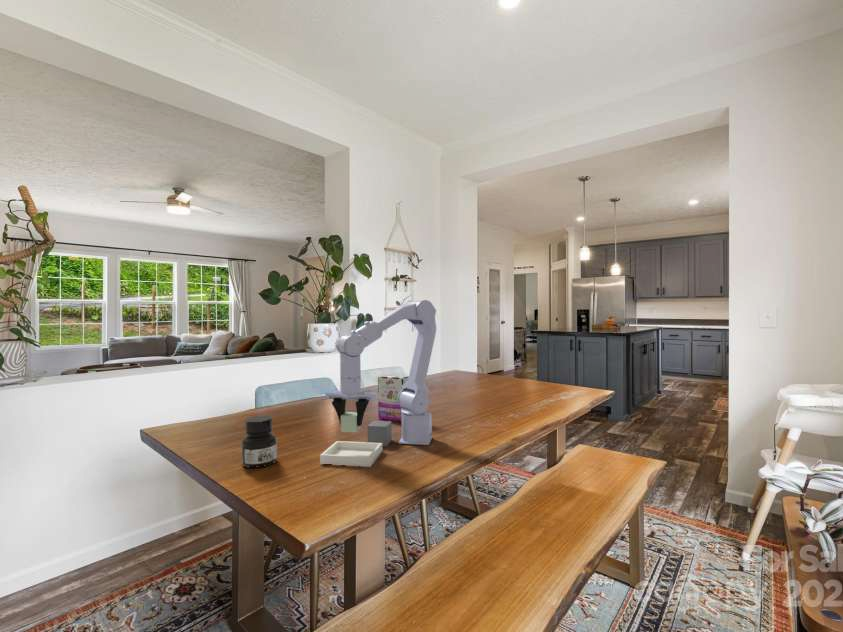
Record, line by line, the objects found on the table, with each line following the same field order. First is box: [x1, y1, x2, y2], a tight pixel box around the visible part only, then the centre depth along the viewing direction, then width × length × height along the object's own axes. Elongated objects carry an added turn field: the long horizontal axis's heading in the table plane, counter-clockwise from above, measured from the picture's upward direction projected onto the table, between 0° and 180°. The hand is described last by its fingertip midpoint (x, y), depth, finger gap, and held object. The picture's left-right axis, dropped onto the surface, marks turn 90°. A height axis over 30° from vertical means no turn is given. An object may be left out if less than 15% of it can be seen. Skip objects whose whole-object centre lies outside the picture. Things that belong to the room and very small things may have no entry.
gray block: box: [367, 420, 393, 447], centre depth 129 cm, size 6×6×6 cm
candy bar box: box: [377, 374, 409, 423], centre depth 155 cm, size 11×5×16 cm, turn 62°
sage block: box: [340, 411, 362, 433], centre depth 118 cm, size 4×4×4 cm
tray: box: [319, 440, 384, 468], centre depth 115 cm, size 14×12×2 cm
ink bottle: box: [241, 415, 278, 468], centre depth 113 cm, size 10×9×12 cm
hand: (351, 424), depth 118 cm, fingers closed on sage block, 4 cm apart
